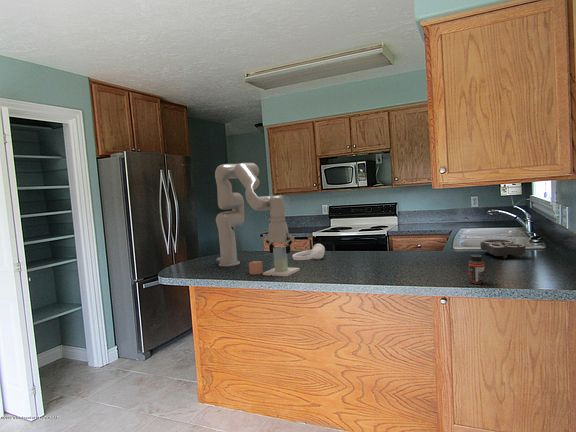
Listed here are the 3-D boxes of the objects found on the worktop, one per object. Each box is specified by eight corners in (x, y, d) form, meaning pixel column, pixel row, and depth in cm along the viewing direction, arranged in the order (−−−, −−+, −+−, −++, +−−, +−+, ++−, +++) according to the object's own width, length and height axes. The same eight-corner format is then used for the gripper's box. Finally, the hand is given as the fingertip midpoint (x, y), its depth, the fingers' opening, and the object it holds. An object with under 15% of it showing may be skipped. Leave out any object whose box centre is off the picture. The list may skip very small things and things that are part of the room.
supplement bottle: (466, 281, 168) (465, 254, 167) (480, 280, 168) (479, 253, 168) (473, 285, 162) (472, 257, 161) (488, 284, 163) (487, 256, 162)
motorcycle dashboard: (476, 252, 228) (475, 239, 228) (506, 250, 226) (506, 238, 226) (495, 261, 202) (494, 247, 202) (529, 259, 200) (529, 245, 200)
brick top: (249, 274, 212) (248, 262, 211) (255, 272, 216) (254, 260, 216) (257, 274, 209) (256, 263, 209) (263, 272, 214) (262, 261, 213)
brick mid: (273, 259, 208) (272, 248, 208) (278, 257, 213) (277, 246, 212) (282, 260, 206) (281, 248, 205) (287, 258, 210) (286, 246, 210)
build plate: (262, 275, 207) (261, 261, 207) (276, 269, 219) (275, 255, 219) (286, 276, 200) (285, 262, 200) (299, 270, 212) (298, 256, 212)
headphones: (326, 253, 254) (295, 258, 257) (324, 241, 253) (293, 246, 256) (324, 260, 234) (291, 264, 237) (322, 246, 234) (288, 251, 237)
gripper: (259, 221, 209) (262, 253, 210) (288, 220, 200) (291, 254, 201) (267, 219, 215) (269, 251, 217) (296, 218, 207) (298, 252, 208)
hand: (280, 252), depth 209 cm, fingers open, 9 cm apart
